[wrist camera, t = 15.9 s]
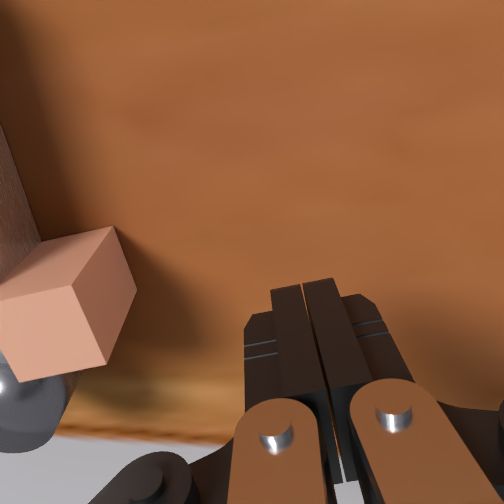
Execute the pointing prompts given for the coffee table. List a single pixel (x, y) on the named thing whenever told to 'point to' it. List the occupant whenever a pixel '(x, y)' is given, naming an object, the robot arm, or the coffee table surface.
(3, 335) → the salmon pink block
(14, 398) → the arm
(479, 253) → the coffee table surface
